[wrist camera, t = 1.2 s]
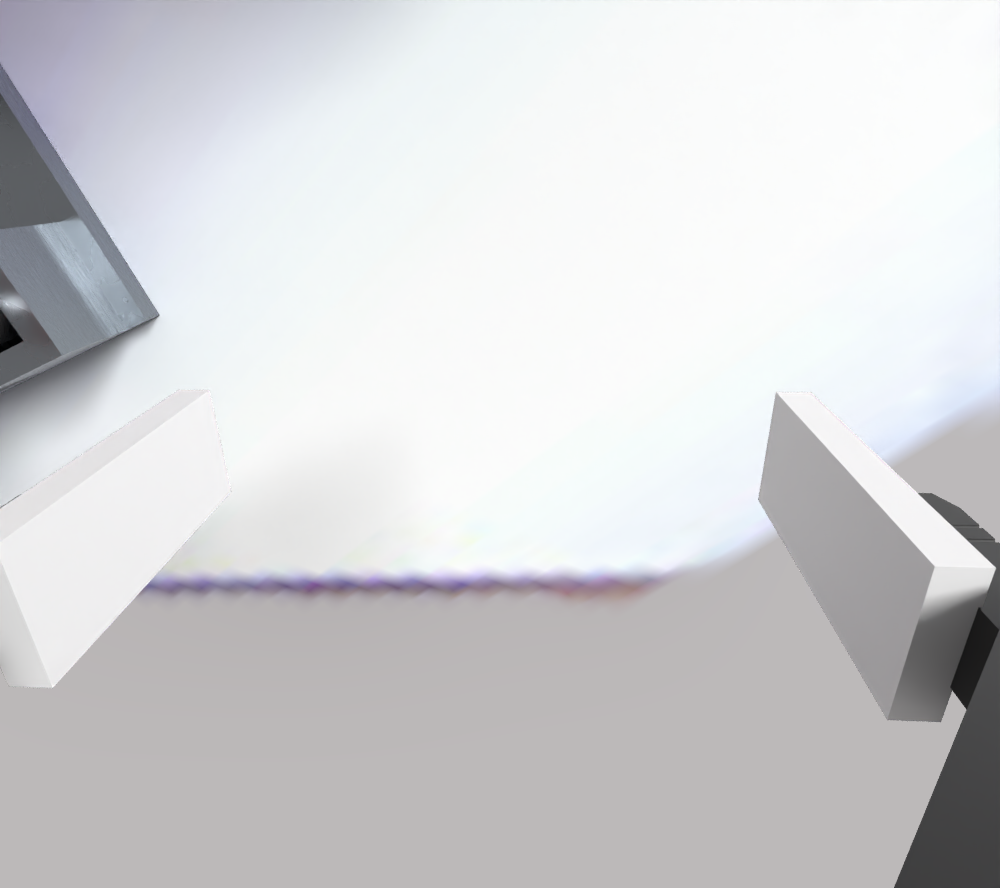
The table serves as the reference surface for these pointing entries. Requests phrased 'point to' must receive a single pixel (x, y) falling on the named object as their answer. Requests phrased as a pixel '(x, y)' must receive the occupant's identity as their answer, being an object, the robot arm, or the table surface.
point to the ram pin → (6, 329)
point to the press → (53, 256)
